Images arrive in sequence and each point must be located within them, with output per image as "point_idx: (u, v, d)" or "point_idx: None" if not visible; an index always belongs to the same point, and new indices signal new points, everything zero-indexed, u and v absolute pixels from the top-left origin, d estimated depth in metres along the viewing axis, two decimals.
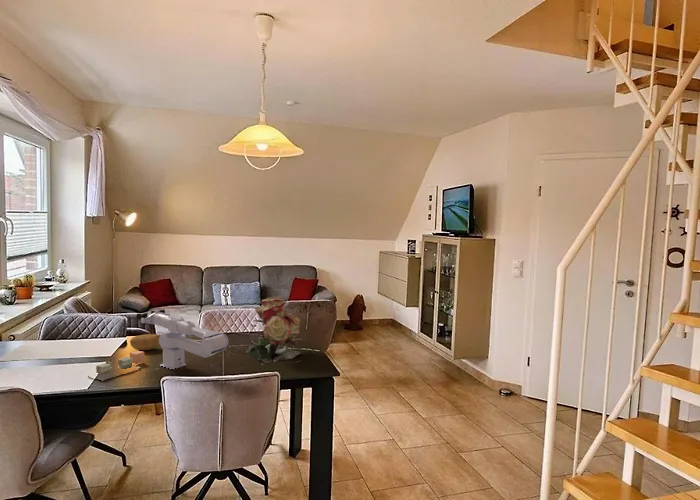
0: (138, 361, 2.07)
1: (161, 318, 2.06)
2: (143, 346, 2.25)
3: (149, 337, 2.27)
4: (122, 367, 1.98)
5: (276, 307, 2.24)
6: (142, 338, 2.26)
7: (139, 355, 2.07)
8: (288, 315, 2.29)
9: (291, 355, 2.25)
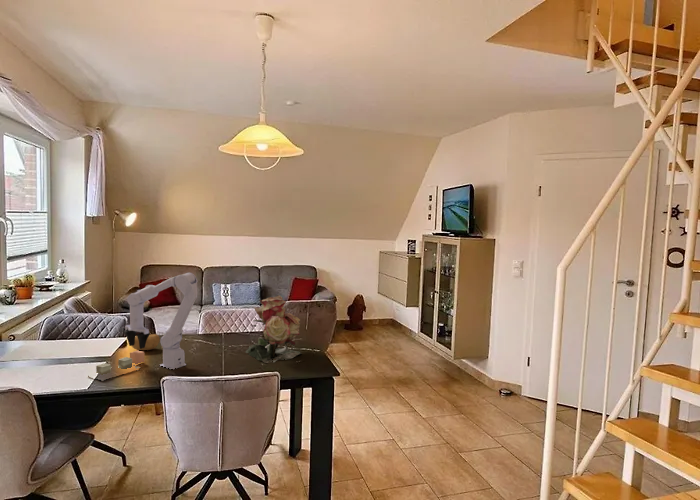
0: (138, 361, 2.07)
1: (130, 315, 2.05)
2: None
3: (148, 337, 2.27)
4: (122, 367, 1.98)
5: (276, 307, 2.24)
6: None
7: (139, 355, 2.07)
8: (288, 315, 2.29)
9: (291, 355, 2.25)
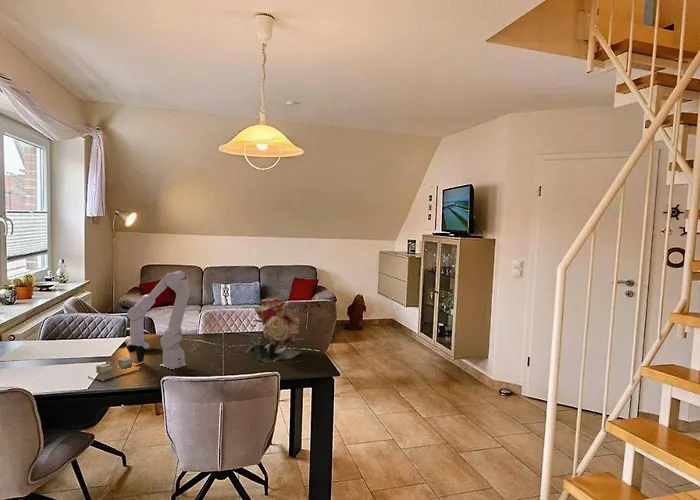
0: None
1: (130, 330, 2.06)
2: None
3: (149, 337, 2.27)
4: (122, 367, 1.98)
5: (276, 307, 2.24)
6: None
7: None
8: (288, 315, 2.29)
9: (291, 355, 2.25)
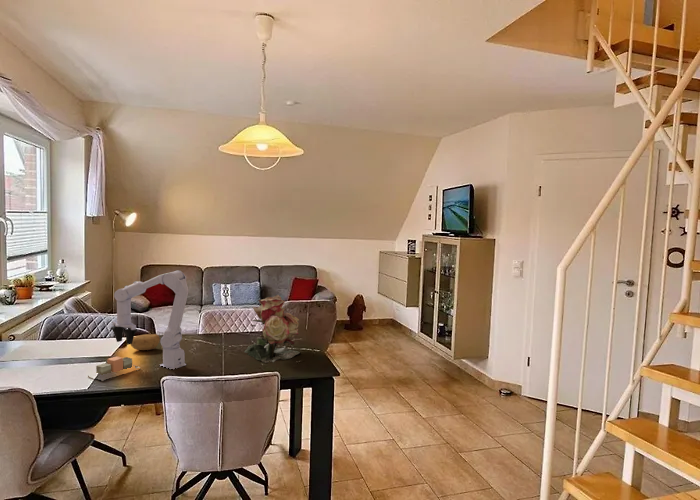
0: (116, 368, 1.94)
1: (117, 311, 2.05)
2: (143, 346, 2.25)
3: (149, 337, 2.27)
4: None
5: (275, 307, 2.25)
6: (142, 338, 2.26)
7: (117, 361, 1.95)
8: (287, 315, 2.30)
9: (290, 355, 2.25)
